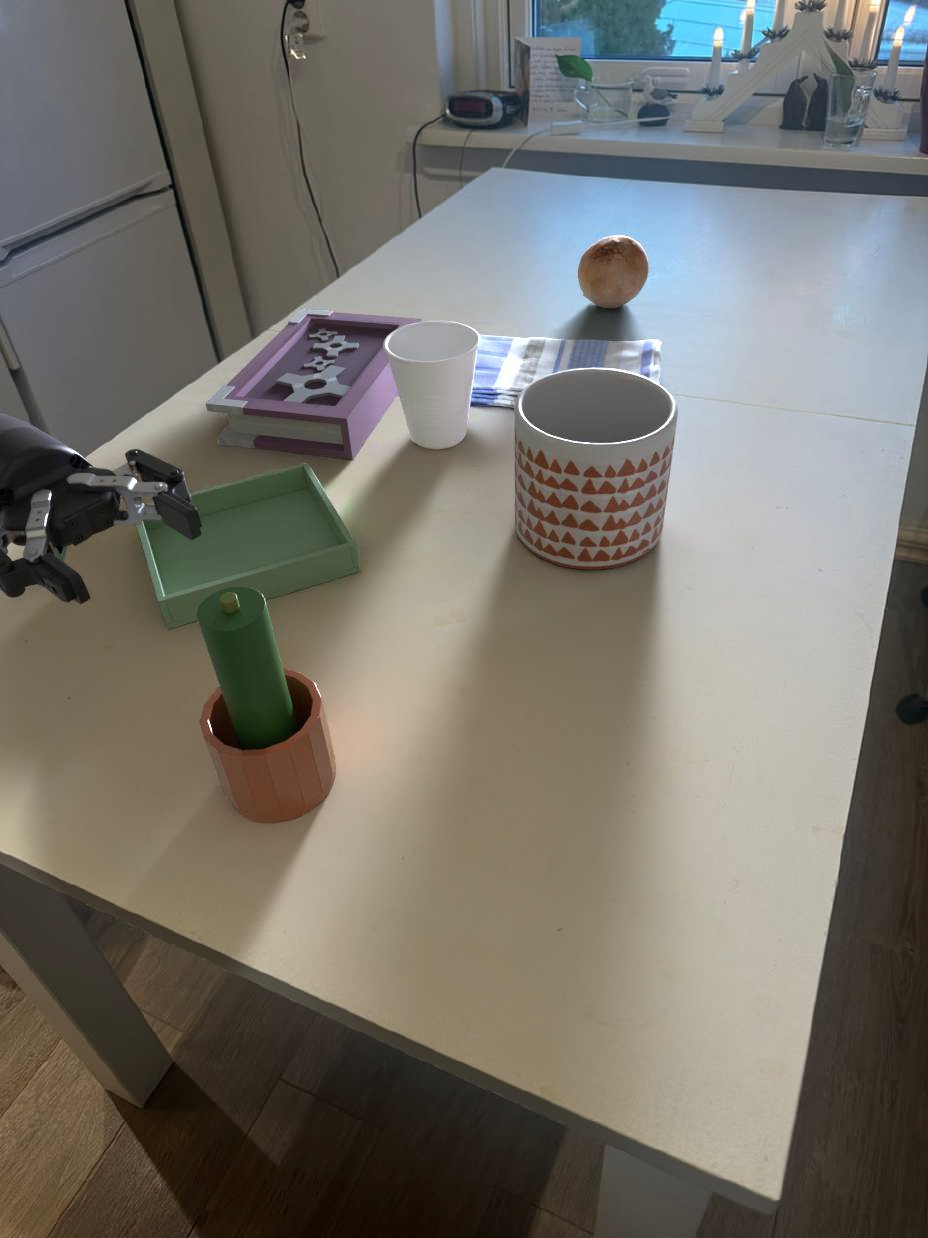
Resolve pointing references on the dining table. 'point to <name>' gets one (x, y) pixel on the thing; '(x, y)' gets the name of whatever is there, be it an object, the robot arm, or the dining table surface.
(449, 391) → the cup
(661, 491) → the planter
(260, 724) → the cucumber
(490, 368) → the dish towel
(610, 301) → the onion
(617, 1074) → the dining table surface
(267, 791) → the crock
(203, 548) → the tray
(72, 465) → the robot arm
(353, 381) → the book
